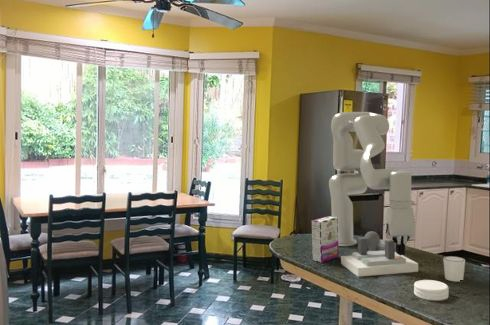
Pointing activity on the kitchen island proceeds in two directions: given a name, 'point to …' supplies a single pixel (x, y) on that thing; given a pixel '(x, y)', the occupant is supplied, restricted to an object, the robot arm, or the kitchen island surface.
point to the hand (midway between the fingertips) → (400, 254)
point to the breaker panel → (378, 268)
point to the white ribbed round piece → (431, 290)
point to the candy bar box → (325, 239)
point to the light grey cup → (454, 268)
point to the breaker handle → (389, 249)
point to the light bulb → (372, 240)
